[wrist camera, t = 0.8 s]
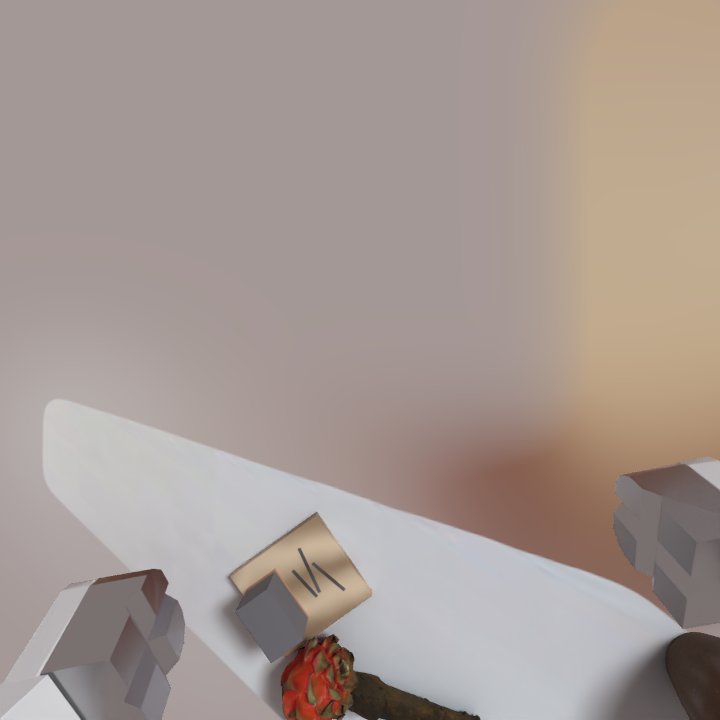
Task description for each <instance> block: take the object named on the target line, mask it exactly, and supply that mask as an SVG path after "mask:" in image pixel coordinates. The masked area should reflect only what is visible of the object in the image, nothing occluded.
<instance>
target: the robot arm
mask: <svg viewBox="0 0 720 720" xmlns="http://www.w3.org/2000/svg"><path fill="white" fill-rule="evenodd" d="M615 494H616V495H617V496H618V497H619V499H620V500H621V501H622V503H621V505H620V506H619V507H618V508H617V510H616V511H615V512H614V531H615V535H616V538H617V541H618V544H619V546H620V548H621V549H622V551H623V553H624V555H625V557H626V558H627V559H628V560H629V562H630V563H631V564H632V566H633V567H634V568H635V569H637V570H638V571H640V572H642V573H644V574H646V575H648V576H650V577H652V578H653V592H654V594H655V595H656V596H657V597H658V599H659V600H660V601H661V602H662V604H663V605H664V606H665V607H666V609H667V610H668V611H669V612H670V614H671V615H672V616H673V617H674V619H675V620H676V621H677V622H678V624H679V625H680V626H681V627H682V629H685V628H691V627H697V626H703V625H709V624H715V623H720V462H719V461H718V460H716V459H713V458H710V457H703V458H698V459H693V460H689V461H684V462H679V463H677V464H671V465H666V466H661V467H656V468H652V469H647V470H642V471H637V472H633V473H628V474H623V475H620V476H619V478H618V479H617V481H616V486H615ZM167 586H168V581H167V579H166V577H165V576H164V574H163V572H162V570H160V569H150V570H144V571H138V572H132V573H127V574H121V575H115V576H110V577H104V578H99V579H97V580H90V581H85V582H78V583H73V584H70V585H68V586H67V587H66V588H64V589H63V590H62V591H61V592H60V593H59V595H58V597H57V598H56V600H55V601H54V603H53V605H52V606H51V608H50V609H49V611H48V613H47V614H46V616H45V617H44V619H43V620H42V622H41V623H40V625H39V627H38V628H37V630H36V631H35V633H34V635H33V636H32V638H31V639H30V641H29V642H28V644H27V646H26V647H25V649H24V650H23V652H22V653H21V655H20V657H19V658H18V660H17V661H16V663H15V665H14V666H13V668H12V669H11V671H10V672H9V674H8V676H7V677H6V679H5V680H4V682H3V683H1V684H0V720H161V719H162V716H163V713H164V709H165V706H166V703H167V699H168V696H169V693H170V689H171V687H170V685H169V682H168V680H167V677H166V675H167V674H168V672H169V671H170V670H171V668H173V666H174V665H175V664H176V663H177V662H178V660H179V658H180V655H181V651H182V647H183V644H184V629H185V622H184V617H183V612H182V609H181V607H180V605H179V603H178V601H177V600H176V599H174V598H172V597H170V596H168V595H167V594H165V592H166V589H167Z"/></svg>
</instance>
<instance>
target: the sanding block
mask: <svg viewBox="0 0 720 720" xmlns="http://www.w3.org/2000/svg"><path fill="white" fill-rule="evenodd" d="M236 614H237V615H238V616H239V618H240V619H241V621H242V622H243V624H244V625H245V626H246V628H247V629H248V631H249V632H250V634H251V635H252V637H253V638H254V639H255V641H256V642H257V644H258V645H259V647H260V648H261V649H262V651H263V652H264V654H265V655H266V657H267V658H268V659H269V661H270V662H271V663H272V662H274V661H275V660H276V659H278V658H279V657H281V656H282V655H283V654H285V653H286V652H288V651H289V650H290V649H292V648H293V647H295V646H296V645H297V644H299V643H300V642H302V641H303V638H304V634H305V630H306V625H307V621H308V619H309V615H308V614H307V613H306V611H305V610H304V608H303V607H302V605H301V604H300V603H299V601H298V600H297V598H296V597H295V595H294V594H293V593H292V591H291V590H290V588H289V587H288V585H287V584H286V583H285V581H284V580H283V578H282V577H281V575H280V574H279V573H278V571H277V570H276V568H275V569H274V570H273V571H271V572H270V573H268V574H267V575H266V576H264V577H263V578H261V579H260V580H259V581H257V582H256V583H254V584H253V585H251V586H250V587H249V588H247V589H246V593H245V595H244V596H243V598H242V600H241V602H240V604H239V606H238V608H237V610H236Z"/></svg>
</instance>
